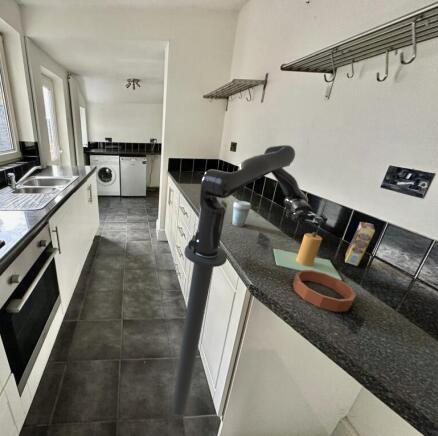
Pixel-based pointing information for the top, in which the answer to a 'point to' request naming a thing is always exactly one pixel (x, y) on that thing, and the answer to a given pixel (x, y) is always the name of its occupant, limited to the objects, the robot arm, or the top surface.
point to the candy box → (359, 243)
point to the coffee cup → (240, 212)
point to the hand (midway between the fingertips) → (309, 222)
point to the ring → (318, 298)
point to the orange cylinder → (309, 249)
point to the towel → (290, 262)
